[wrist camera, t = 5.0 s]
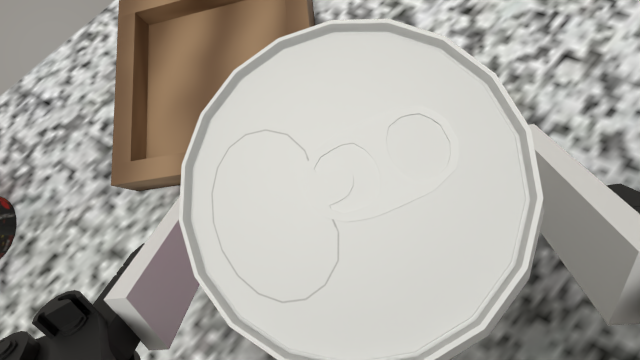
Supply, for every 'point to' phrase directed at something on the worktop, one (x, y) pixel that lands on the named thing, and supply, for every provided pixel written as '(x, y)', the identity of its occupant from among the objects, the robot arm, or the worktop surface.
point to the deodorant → (6, 225)
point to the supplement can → (361, 196)
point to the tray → (182, 74)
